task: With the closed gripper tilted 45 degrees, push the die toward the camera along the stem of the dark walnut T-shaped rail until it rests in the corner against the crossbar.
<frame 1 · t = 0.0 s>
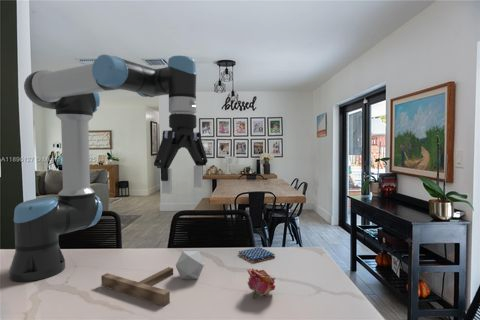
hand: (183, 190, 86), 28 cm above the kitchen island, tool pointing down, fingers open, 13 cm apart
walnut T rail: (133, 293, 84), on the kitchen island
woven mat: (256, 258, 113), on the kitchen island
flower: (261, 295, 83), on the kitchen island
die: (190, 277, 95), on the kitchen island
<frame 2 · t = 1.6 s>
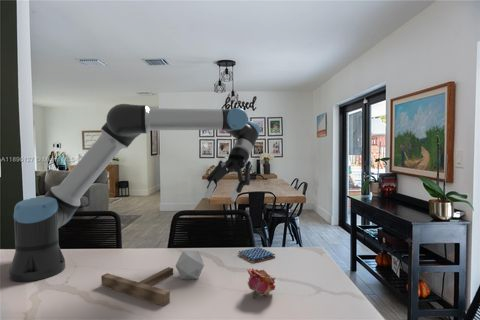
hand: (219, 198, 108), 22 cm above the kitchen island, tool tilted 45°, fingers open, 10 cm apart
nothing on the kitchen island moved.
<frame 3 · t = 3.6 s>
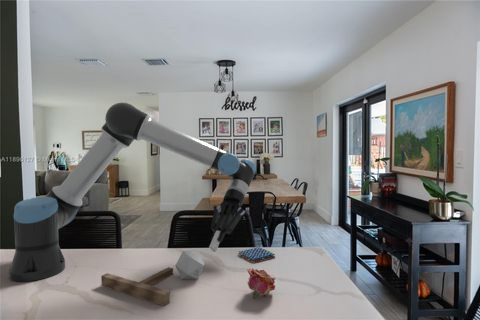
hand: (212, 249, 104), 5 cm above the kitchen island, tool tilted 45°, fingers closed
nothing on the kitchen island moved.
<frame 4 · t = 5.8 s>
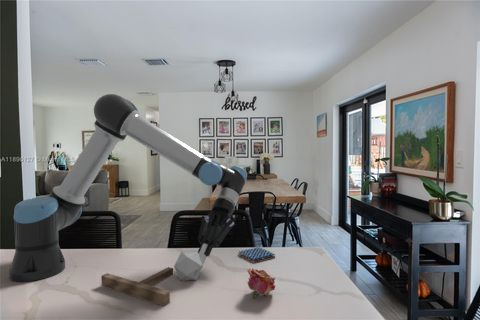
hand: (198, 264, 97), 3 cm above the kitchen island, tool tilted 45°, fingers closed
die: (189, 278, 94), on the kitchen island, touching gripper
everything else where it was.
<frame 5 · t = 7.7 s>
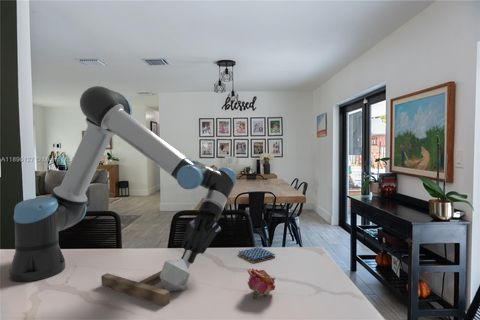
hand: (181, 272, 91), 3 cm above the kitchen island, tool tilted 45°, fingers closed
die: (174, 288, 87), on the kitchen island, touching gripper
everything else where it was.
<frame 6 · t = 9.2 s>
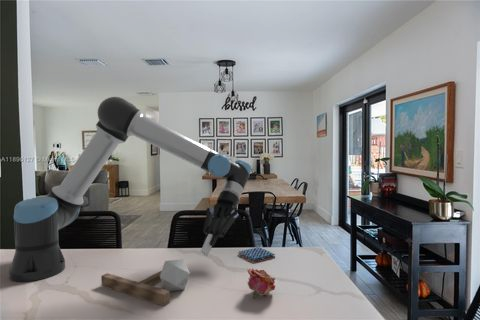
hand: (204, 253, 100), 5 cm above the kitchen island, tool tilted 45°, fingers closed
die: (174, 289, 87), on the kitchen island
everything else where it was.
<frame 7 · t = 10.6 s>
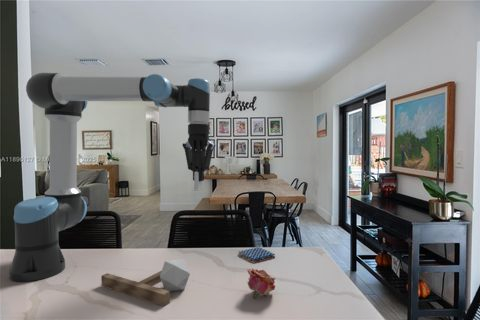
hand: (198, 190, 109), 25 cm above the kitchen island, tool pointing down, fingers closed
nothing on the kitchen island moved.
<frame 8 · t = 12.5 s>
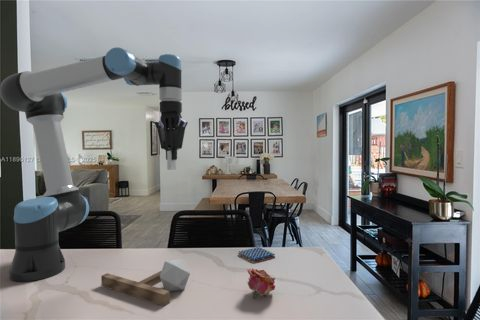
hand: (171, 169, 107), 32 cm above the kitchen island, tool pointing down, fingers closed
nothing on the kitchen island moved.
at the end: die 1.4 cm from the target spot, on the kitchen island; die tilted 0° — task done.
